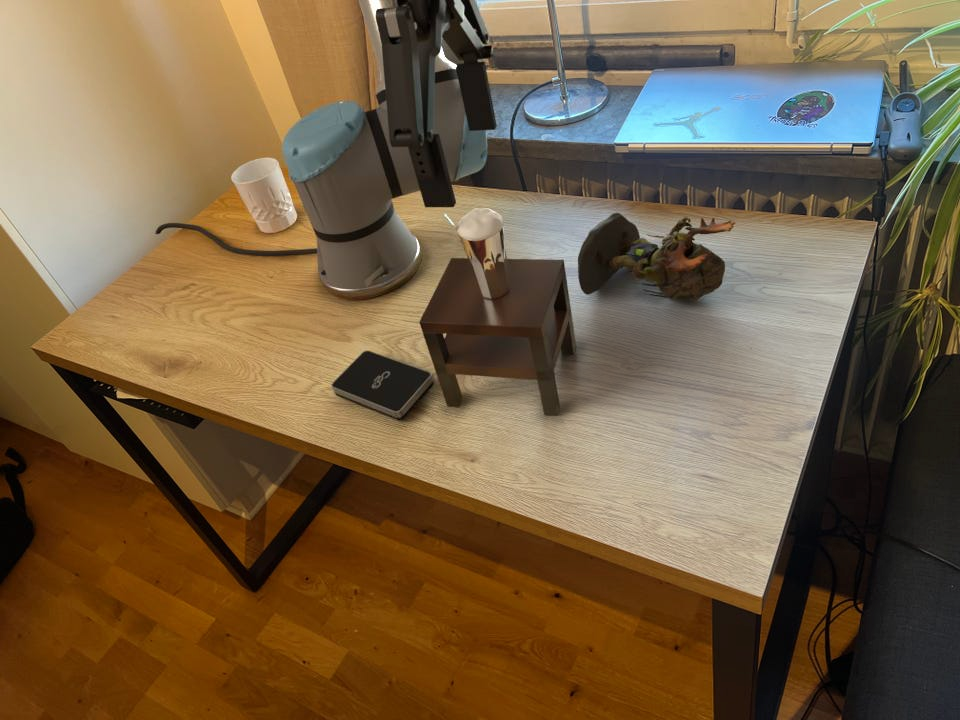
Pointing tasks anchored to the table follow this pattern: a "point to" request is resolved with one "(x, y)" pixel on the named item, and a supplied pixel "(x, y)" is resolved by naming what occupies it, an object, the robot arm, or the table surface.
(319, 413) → the table surface
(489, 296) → the milkshake
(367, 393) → the external hard drive
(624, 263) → the figurine
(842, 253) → the table surface
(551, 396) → the small wooden side table
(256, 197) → the white cup
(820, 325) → the table surface
